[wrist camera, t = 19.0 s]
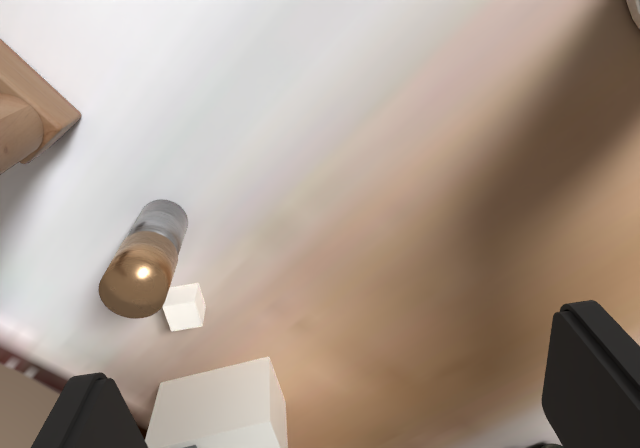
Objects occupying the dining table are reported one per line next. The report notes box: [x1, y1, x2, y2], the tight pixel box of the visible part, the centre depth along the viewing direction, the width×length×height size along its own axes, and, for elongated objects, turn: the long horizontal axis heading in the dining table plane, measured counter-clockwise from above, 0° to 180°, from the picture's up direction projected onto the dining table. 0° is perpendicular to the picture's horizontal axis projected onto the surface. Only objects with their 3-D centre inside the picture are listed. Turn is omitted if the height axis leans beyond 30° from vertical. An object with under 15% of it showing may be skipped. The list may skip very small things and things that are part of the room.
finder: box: [145, 356, 288, 448], centre depth 39 cm, size 10×6×7 cm, turn 102°
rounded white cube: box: [163, 283, 206, 332], centre depth 35 cm, size 2×2×2 cm
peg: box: [99, 200, 188, 318], centre depth 29 cm, size 4×4×9 cm
